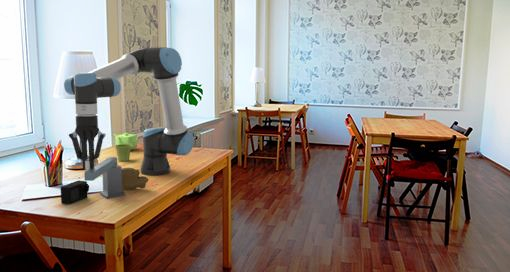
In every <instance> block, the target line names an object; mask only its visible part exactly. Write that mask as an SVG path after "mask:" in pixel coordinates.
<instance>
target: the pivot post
mask: <svg viewBox="0 0 510 272" xmlns="http://www.w3.org/2000/svg"><path fill="white" fill-rule="evenodd" d="M99 194H100V195H101V196H103V197H104V198H105V199H111V198H112V199H113V198H118V197H123V196H124V197H125V196H126V192H124V191H123V189H122V166H121V165H120V164H117V165H116V166H113V167H112V168H110V169H109V170H108V171H106V172H105V173H103V174H102V190H101V191H99Z"/></svg>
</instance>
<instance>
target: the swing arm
mask: <svg viewBox="0 0 510 272" xmlns="http://www.w3.org/2000/svg"><path fill="white" fill-rule="evenodd" d="M116 165H118V156H107V157H106V158H105V159H104V160H103V161H101V162H99V163H97V164H96V165H94V168H93V169H89V170H88V171H86V172H85V171H84V181H87V182H88V181H89V182H90V181H91V182H92V181H95V180H96V179H98V178H99V177H101V176H103V173H105V172H106V171H108V170H109V169H110V168H112V167H113V166H116Z"/></svg>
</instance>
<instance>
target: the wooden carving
mask: <svg viewBox="0 0 510 272" xmlns="http://www.w3.org/2000/svg"><path fill="white" fill-rule="evenodd" d="M121 169H122V190H124V191H132V190H135V189H136V190H137V188H139V189H146V186H147V183H148V182H149V178H148V177H146V176H145V175H144V176H143V175H140V174H141V171H140V169H135V168H133V167H121Z"/></svg>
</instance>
